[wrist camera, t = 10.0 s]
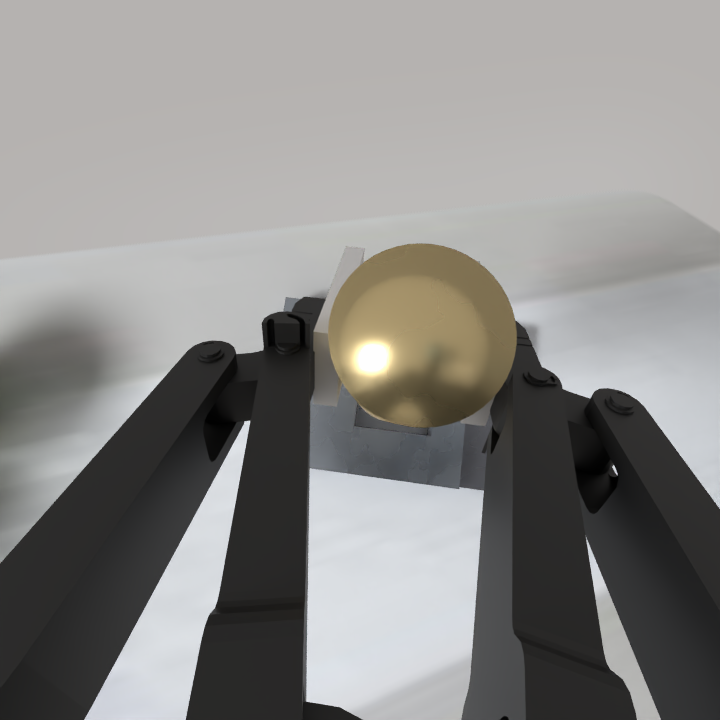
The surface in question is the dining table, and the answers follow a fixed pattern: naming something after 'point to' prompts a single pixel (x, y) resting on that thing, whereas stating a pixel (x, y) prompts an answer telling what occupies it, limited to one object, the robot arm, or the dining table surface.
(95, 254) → the dining table surface
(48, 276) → the dining table surface
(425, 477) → the grey slotted plate
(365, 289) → the brass pin
